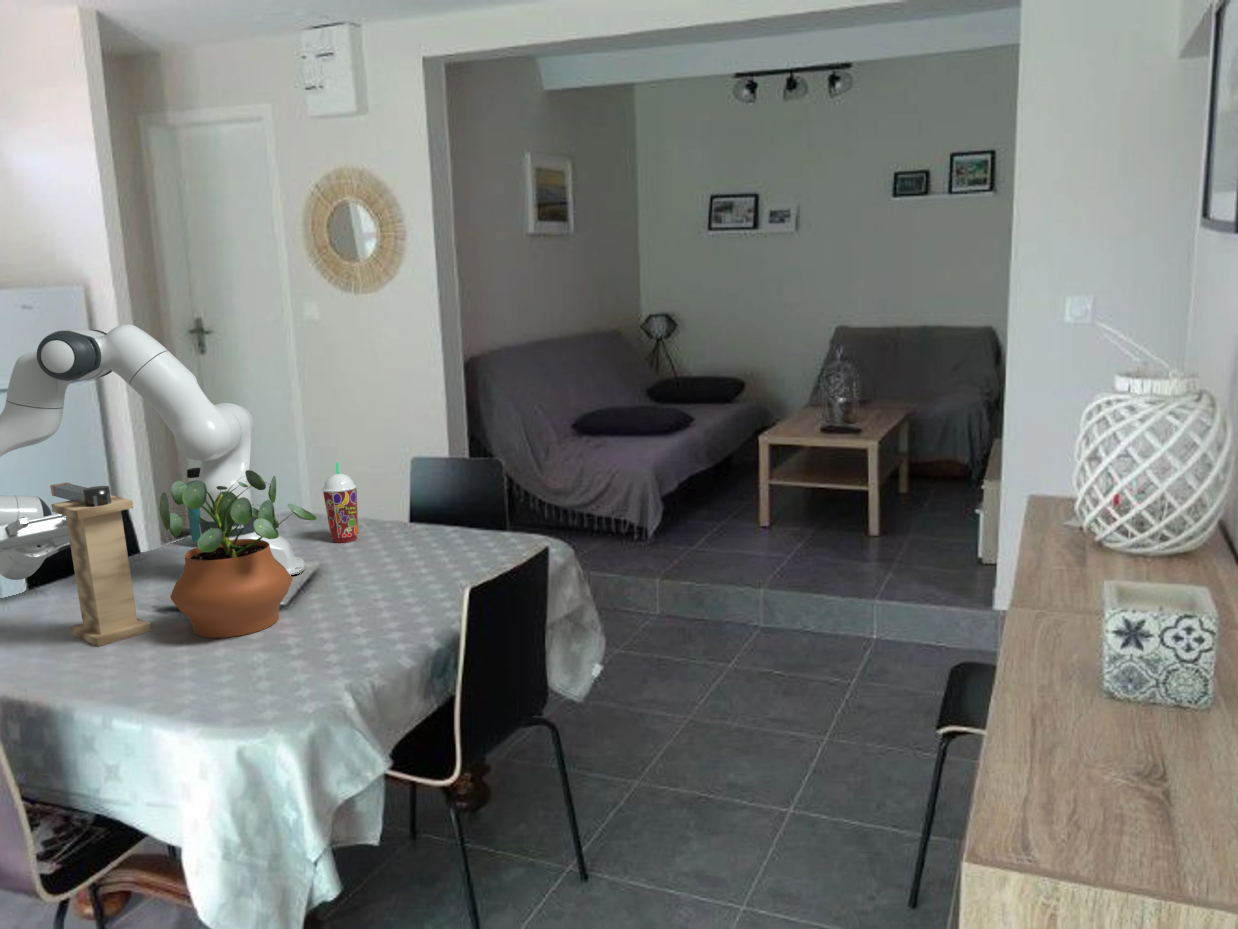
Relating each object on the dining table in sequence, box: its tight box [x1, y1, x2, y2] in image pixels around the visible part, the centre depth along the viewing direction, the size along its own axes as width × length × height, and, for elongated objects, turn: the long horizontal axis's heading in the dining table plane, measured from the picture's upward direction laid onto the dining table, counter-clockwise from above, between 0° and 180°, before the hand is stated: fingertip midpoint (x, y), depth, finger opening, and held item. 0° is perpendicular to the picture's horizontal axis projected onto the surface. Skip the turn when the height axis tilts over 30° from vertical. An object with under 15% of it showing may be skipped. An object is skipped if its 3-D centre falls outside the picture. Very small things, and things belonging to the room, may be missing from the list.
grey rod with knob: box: [49, 481, 111, 507], centre depth 198 cm, size 20×4×3 cm, turn 49°
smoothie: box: [322, 462, 359, 544], centre depth 260 cm, size 8×8×20 cm
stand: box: [51, 494, 152, 648], centre depth 198 cm, size 12×10×26 cm
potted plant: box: [158, 469, 317, 639], centre depth 199 cm, size 23×28×30 cm
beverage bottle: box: [185, 467, 201, 543], centre depth 263 cm, size 6×7×20 cm
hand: (48, 515), depth 211 cm, fingers open, 8 cm apart
